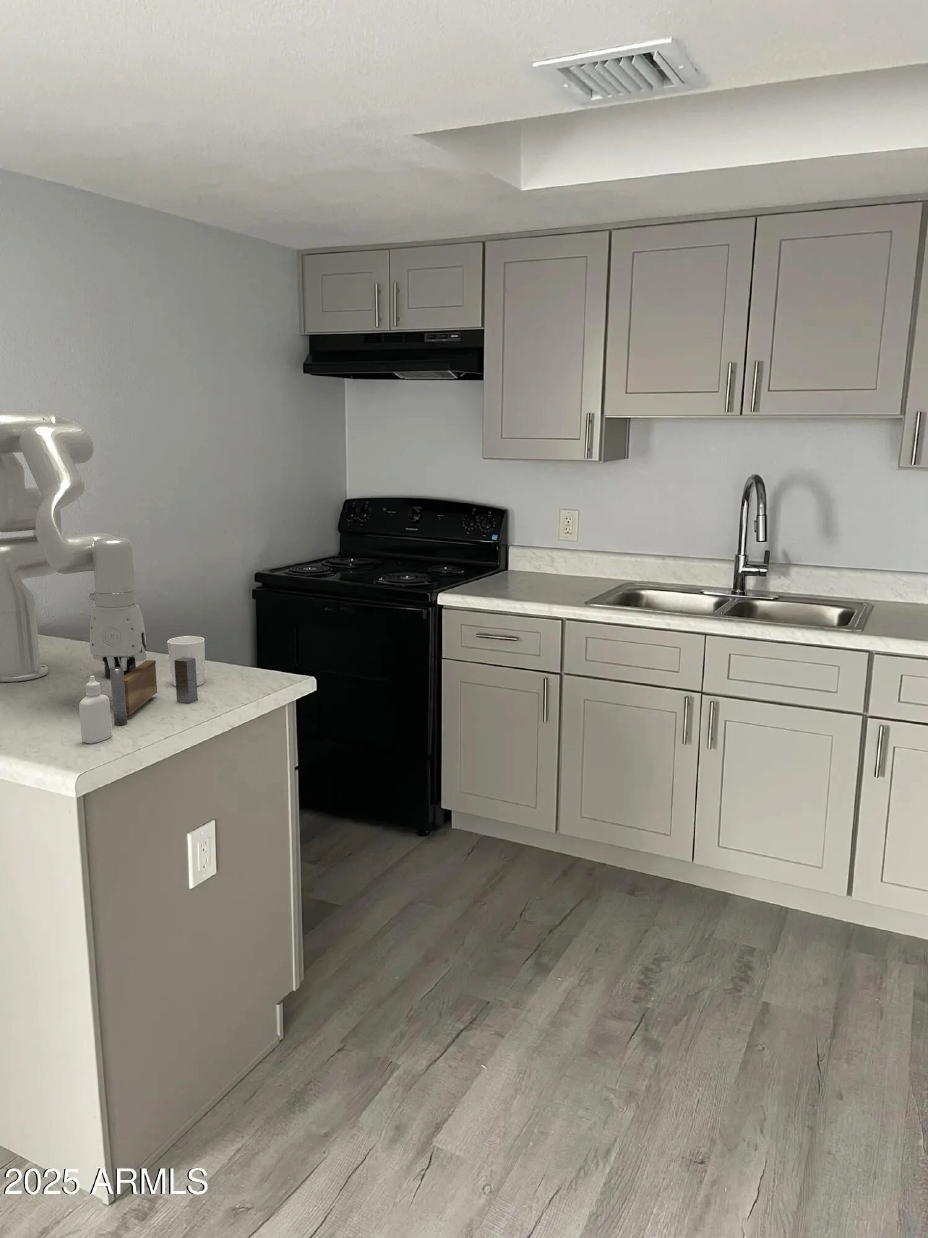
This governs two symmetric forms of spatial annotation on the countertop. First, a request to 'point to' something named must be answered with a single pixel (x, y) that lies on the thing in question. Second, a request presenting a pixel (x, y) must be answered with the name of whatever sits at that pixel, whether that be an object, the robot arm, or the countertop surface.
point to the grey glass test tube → (118, 696)
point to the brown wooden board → (140, 685)
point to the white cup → (188, 654)
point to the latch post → (186, 680)
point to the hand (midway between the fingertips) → (122, 687)
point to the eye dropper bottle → (95, 714)
